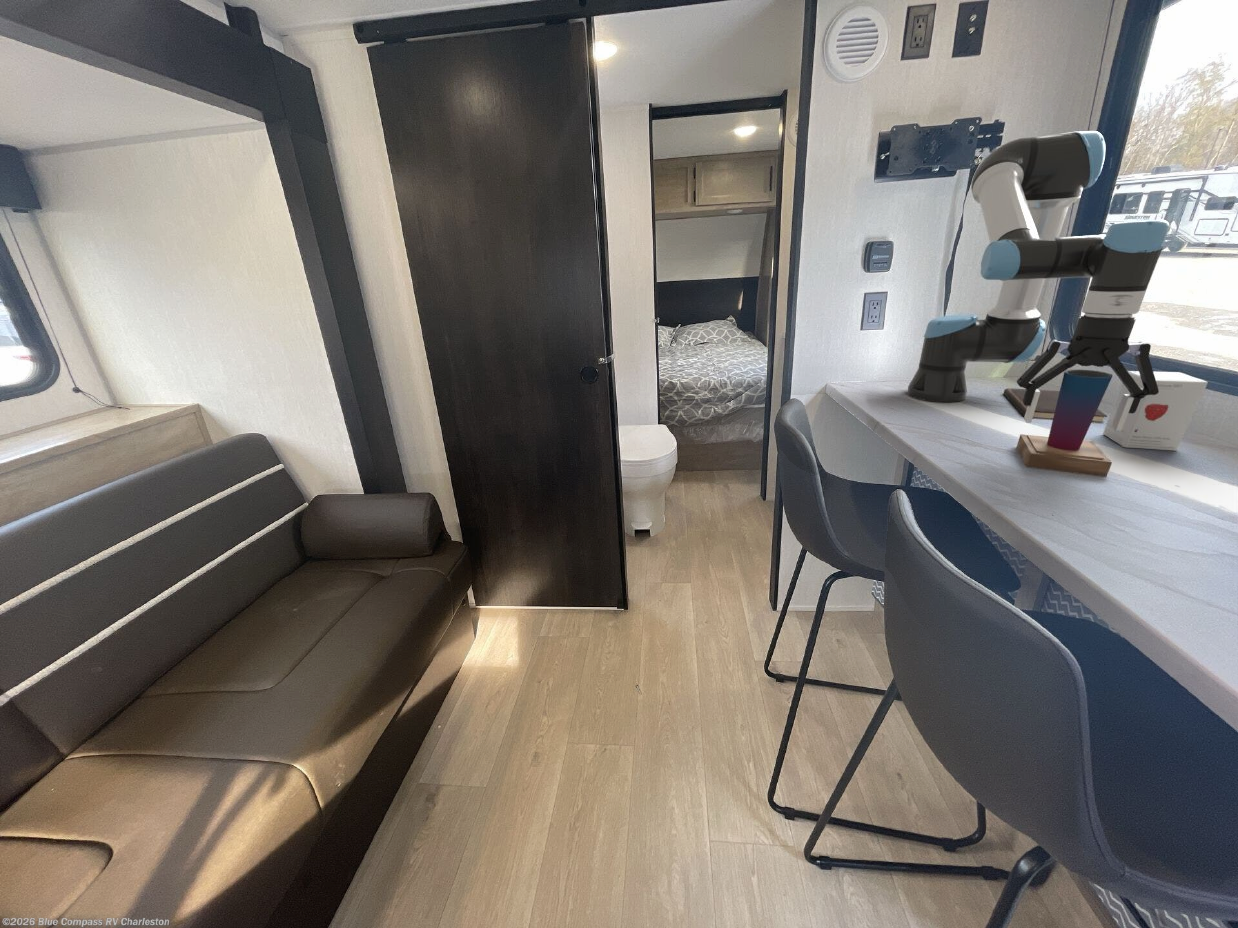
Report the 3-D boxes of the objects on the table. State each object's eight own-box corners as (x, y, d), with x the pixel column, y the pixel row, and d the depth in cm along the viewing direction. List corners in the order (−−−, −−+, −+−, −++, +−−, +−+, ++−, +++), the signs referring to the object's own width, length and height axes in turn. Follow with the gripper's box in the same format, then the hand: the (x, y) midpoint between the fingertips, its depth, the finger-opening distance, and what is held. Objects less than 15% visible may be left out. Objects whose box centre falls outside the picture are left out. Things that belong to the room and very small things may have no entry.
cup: (1094, 452, 94) (1122, 377, 88) (1054, 451, 95) (1079, 377, 89) (1071, 440, 100) (1096, 369, 94) (1034, 439, 101) (1056, 369, 95)
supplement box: (1123, 448, 103) (1150, 380, 97) (1101, 434, 110) (1125, 370, 104) (1179, 451, 100) (1210, 381, 94) (1152, 437, 107) (1180, 371, 101)
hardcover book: (1071, 399, 136) (1074, 391, 135) (1103, 424, 117) (1107, 415, 116) (1002, 395, 143) (1004, 388, 142) (1022, 418, 124) (1025, 410, 123)
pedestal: (1016, 446, 106) (1020, 433, 105) (1087, 454, 101) (1093, 439, 99) (1026, 466, 97) (1031, 452, 95) (1106, 476, 91) (1112, 460, 90)
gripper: (1025, 317, 90) (996, 423, 98) (1217, 318, 78) (1165, 438, 87) (1018, 312, 96) (991, 412, 104) (1196, 312, 84) (1149, 425, 93)
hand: (1070, 424), depth 96 cm, fingers open, 13 cm apart
